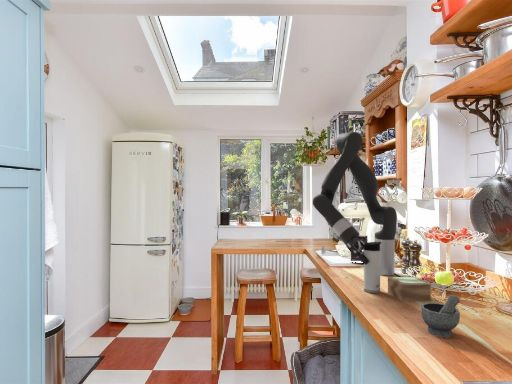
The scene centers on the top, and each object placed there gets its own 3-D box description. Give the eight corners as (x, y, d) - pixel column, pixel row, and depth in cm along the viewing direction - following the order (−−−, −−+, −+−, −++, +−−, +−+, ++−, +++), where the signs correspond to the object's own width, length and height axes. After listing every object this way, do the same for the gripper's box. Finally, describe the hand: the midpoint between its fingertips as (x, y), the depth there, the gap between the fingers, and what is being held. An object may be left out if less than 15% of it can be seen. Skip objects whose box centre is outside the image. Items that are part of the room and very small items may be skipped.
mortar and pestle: (413, 327, 97) (413, 286, 97) (440, 324, 99) (440, 284, 99) (442, 344, 86) (442, 298, 86) (472, 340, 88) (472, 295, 88)
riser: (387, 292, 132) (387, 276, 132) (414, 291, 133) (414, 276, 133) (402, 301, 121) (402, 284, 121) (430, 300, 122) (430, 283, 122)
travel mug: (382, 294, 130) (382, 243, 130) (364, 292, 131) (364, 242, 131) (379, 289, 136) (379, 240, 136) (362, 288, 137) (363, 240, 137)
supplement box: (367, 263, 188) (368, 235, 188) (365, 264, 184) (365, 236, 184) (352, 261, 193) (352, 234, 193) (350, 263, 189) (350, 235, 189)
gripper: (343, 226, 134) (371, 258, 127) (358, 224, 145) (384, 253, 137) (332, 238, 138) (358, 270, 130) (347, 235, 148) (372, 264, 141)
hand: (371, 261), depth 134 cm, fingers open, 8 cm apart
